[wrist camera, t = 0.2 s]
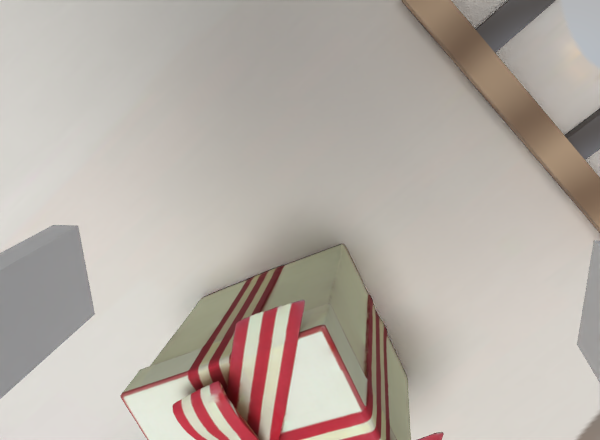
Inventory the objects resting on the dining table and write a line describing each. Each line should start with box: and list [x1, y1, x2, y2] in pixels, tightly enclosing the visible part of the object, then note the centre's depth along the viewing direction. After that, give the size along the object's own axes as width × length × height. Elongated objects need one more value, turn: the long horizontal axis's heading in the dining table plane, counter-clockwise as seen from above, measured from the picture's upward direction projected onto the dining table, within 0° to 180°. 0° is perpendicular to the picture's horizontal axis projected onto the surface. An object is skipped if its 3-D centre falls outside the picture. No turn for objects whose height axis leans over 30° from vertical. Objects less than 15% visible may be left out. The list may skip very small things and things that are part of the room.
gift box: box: [121, 244, 443, 440], centre depth 38 cm, size 17×18×17 cm
